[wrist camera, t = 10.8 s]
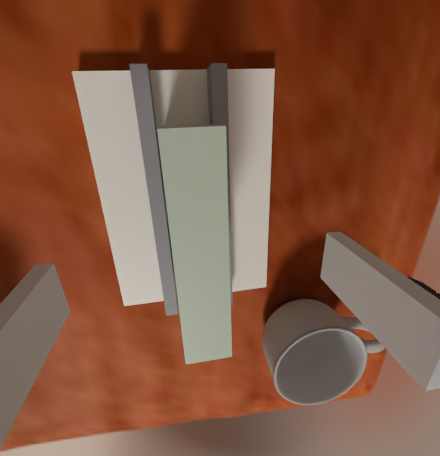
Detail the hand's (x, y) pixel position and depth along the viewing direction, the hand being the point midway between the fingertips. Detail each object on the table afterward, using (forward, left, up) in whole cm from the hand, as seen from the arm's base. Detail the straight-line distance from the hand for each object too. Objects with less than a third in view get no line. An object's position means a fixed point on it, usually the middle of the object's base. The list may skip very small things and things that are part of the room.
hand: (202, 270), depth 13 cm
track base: (0, 0, -15) cm, 15 cm away
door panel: (0, 0, -13) cm, 13 cm away
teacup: (+18, +14, -15) cm, 28 cm away
